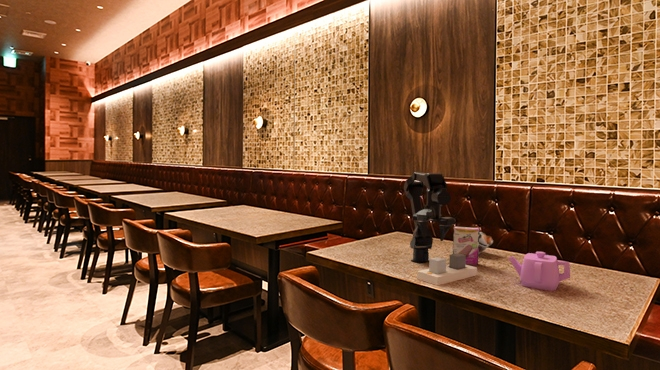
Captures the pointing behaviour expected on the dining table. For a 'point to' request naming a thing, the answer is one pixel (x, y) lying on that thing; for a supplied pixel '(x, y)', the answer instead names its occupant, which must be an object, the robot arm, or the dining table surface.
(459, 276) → the power strip
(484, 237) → the lucky cat figurine
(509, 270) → the dining table surface
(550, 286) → the teakettle
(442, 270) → the plug
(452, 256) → the twin plug
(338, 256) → the dining table surface
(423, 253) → the robot arm
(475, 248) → the candy bar box
